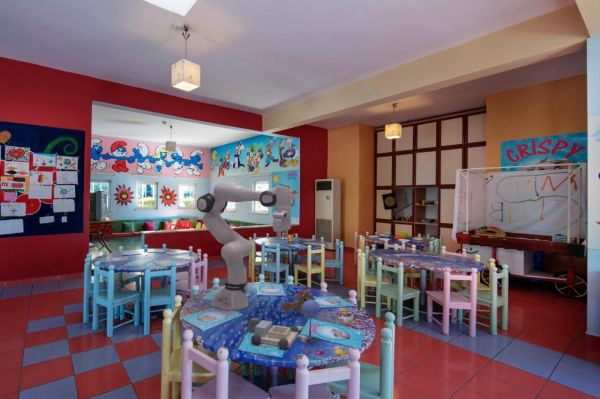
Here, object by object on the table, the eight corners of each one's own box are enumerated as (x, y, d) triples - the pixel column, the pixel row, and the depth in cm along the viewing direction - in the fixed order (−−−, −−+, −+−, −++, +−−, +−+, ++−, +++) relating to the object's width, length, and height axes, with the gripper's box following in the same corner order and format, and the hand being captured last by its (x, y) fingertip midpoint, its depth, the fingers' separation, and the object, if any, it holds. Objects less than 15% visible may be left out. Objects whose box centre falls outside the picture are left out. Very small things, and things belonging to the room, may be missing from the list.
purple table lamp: (299, 334, 150) (300, 297, 150) (317, 334, 151) (318, 297, 151) (301, 342, 142) (302, 303, 141) (320, 342, 142) (321, 303, 142)
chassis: (249, 343, 140) (250, 330, 140) (264, 329, 155) (264, 317, 155) (287, 350, 135) (288, 336, 135) (298, 334, 150) (299, 322, 150)
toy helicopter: (318, 313, 178) (318, 289, 177) (286, 321, 166) (287, 295, 166) (309, 309, 184) (310, 286, 184) (279, 315, 173) (279, 291, 173)
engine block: (247, 331, 152) (248, 319, 152) (251, 328, 156) (251, 316, 156) (257, 333, 151) (257, 321, 151) (260, 329, 155) (260, 318, 155)
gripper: (283, 212, 185) (283, 236, 185) (271, 214, 165) (270, 240, 165) (294, 213, 183) (293, 236, 183) (282, 214, 164) (281, 241, 164)
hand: (282, 238), depth 174 cm, fingers open, 8 cm apart
